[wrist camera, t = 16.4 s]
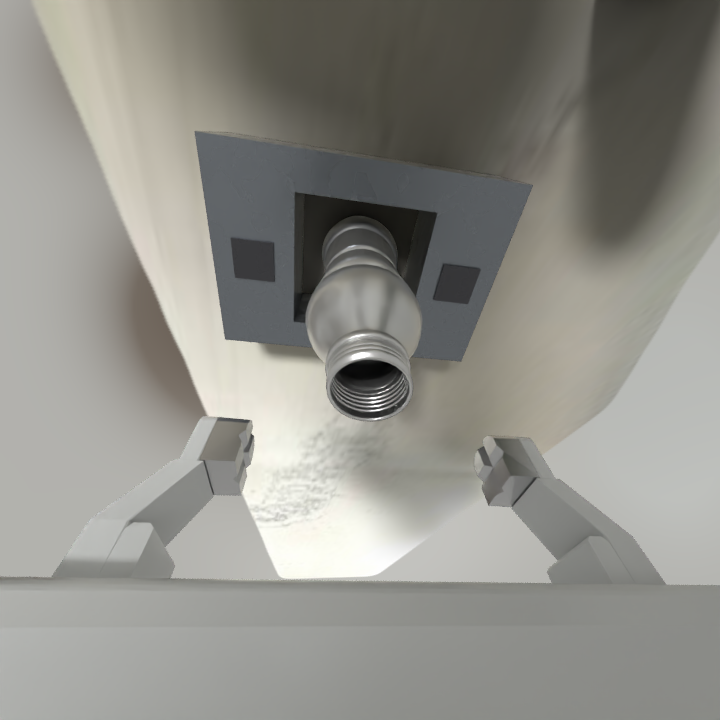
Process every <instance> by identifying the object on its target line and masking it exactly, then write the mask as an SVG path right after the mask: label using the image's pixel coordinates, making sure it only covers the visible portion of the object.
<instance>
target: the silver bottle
mask: <svg viewBox="0 0 720 720" xmlns="http://www.w3.org/2000/svg"><path fill="white" fill-rule="evenodd" d="M322 257H323V264H324V269H325V274H324V277H323V278H322V280H321V281H320V282H319V284H318V286H317V287H316V288H315V290H314V292H313V294H312V296H311V298H310V301H309V303H308V306H307V310H306V322H305V323H306V328H307V333H308V337H309V340H310V342H311V345H312V347H313V349H314V351H315V352H316V354H317V355H318V357H319V358H320V359H321V360H322V361H323V362H324V363H325V364H326V366H325V371H326V376H327V382H326V389H327V395H328V398H329V400H330V402H331V404H332V405H333V406H334V408H336V409H337V410H338V411H339V412H340V413H342V414H343V415H345V416H347V417H350V418H352V419H356V420H360V421H379V420H384V419H387V418H390V417H392V416H394V415H396V414H398V413H399V412H401V411H402V410H403V409H404V408H405V407H406V406H407V405H408V403H409V402H410V400H411V397H412V394H413V381H412V377H411V373H410V370H411V366H410V361H409V359H410V358H411V356H412V355H413V354H414V352H415V350H416V348H417V346H418V343H419V340H420V336H421V330H422V314H421V309H420V306H419V303H418V301H417V299H416V297H415V295H414V294H413V292H412V290H411V289H410V287H409V286H408V285H407V283H406V282H405V281H404V280H403V279H402V278H401V276H400V275H399V274H398V272H397V269H396V268H397V247H396V243H395V241H394V238H393V236H392V235H391V233H390V232H389V231H388V229H387V228H386V227H385V226H384V225H382V224H381V223H379V222H378V221H376V220H374V219H372V218H369V217H365V216H352V217H348V218H345V219H343V220H341V221H340V222H338V223H337V224H336V225H334V226H333V227H332V228H331V230H330V231H329V232H328V234H327V236H326V238H325V240H324V244H323V249H322Z"/></svg>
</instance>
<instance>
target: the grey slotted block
mask: <svg viewBox="0 0 720 720" xmlns="http://www.w3.org/2000/svg"><path fill="white" fill-rule="evenodd" d="M195 137H196V144H197V151H198V157H199V164H200V171H201V178H202V185H203V191H204V198H205V205H206V212H207V219H208V226H209V232H210V239H211V246H212V253H213V260H214V266H215V273H216V280H217V287H218V294H219V300H220V307H221V314H222V321H223V328H224V335H225V339H226V340H237V341H247V342H258V343H269V344H280V345H290V346H301V347H312V345H311V342H310V340H309V337H308V333H307V328H306V323H305V322H306V310H307V306H308V303H309V301H310V298H311V296H312V294H306V293H302V274H303V234H304V194H312V195H319V196H326V197H333V198H340V199H347V200H354V201H360V202H367V203H374V204H381V205H388V206H395V207H402V208H409V209H416V210H419V211H418V216H417V220H416V225H415V229H414V233H413V238H412V242H411V247H410V251H409V255H408V260H407V264H406V269H405V273H404V278H403V280H404V281H405V282H406V283H407V285H408V286H409V287H410V289H411V290H412V292H413V294H414V295H415V297H416V299H417V301H418V303H419V306H420V309H421V314H422V330H421V336H420V340H419V343H418V346H417V348H416V350H415V352H414V354H413V355H412V356H411V357H419V358H430V359H441V360H451V361H461V360H462V358H463V355H464V353H465V351H466V348H467V346H468V343H469V341H470V338H471V336H472V333H473V331H474V329H475V326H476V324H477V321H478V319H479V316H480V314H481V311H482V309H483V307H484V304H485V302H486V299H487V297H488V294H489V292H490V289H491V287H492V285H493V282H494V280H495V277H496V275H497V272H498V270H499V267H500V265H501V262H502V260H503V258H504V255H505V253H506V250H507V248H508V245H509V243H510V240H511V238H512V236H513V233H514V231H515V228H516V226H517V223H518V221H519V218H520V216H521V214H522V211H523V209H524V206H525V204H526V201H527V199H528V196H529V194H530V192H531V189H532V187H533V185H530V184H526V183H523V182H519V181H515V180H511V179H508V178H504V177H500V176H495V175H489V174H482V173H476V172H470V171H464V170H458V169H452V168H445V167H439V166H433V165H427V164H421V163H414V162H408V161H402V160H396V159H390V158H383V157H377V156H371V155H365V154H359V153H352V152H346V151H340V150H334V149H328V148H321V147H315V146H309V145H303V144H297V143H290V142H284V141H278V140H272V139H266V138H259V137H253V136H247V135H241V134H235V133H228V132H207V131H195ZM312 348H313V347H312Z"/></svg>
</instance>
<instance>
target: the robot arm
mask: <svg viewBox="0 0 720 720" xmlns="http://www.w3.org/2000/svg"><path fill="white" fill-rule="evenodd" d="M252 429H253V424H252V420H244V419H233V418H222V417H208V416H203V417H202V418H201V419H200V420H199V421H198V424H197V425H196V427H195V429H194V431H193V433H192V435H191V437H190V439H189V441H188V443H187V445H186V447H185V448H184V450H183V453H182V454H181V456H180V458H179V459H174V460H172V461H171V462H169V463H168V464H166V465H165V466H164V467H162V468H161V469H159V470H158V471H157V472H155V473H154V474H152V475H151V476H150V477H148V478H147V479H145V480H144V481H143V482H141V483H140V484H138V485H137V486H136V487H134V488H133V489H131V490H130V491H129V492H127V493H126V494H125V495H123V496H122V497H120V498H119V499H118V500H116V501H115V502H113V503H112V504H111V505H109V506H108V507H107V508H105V509H104V510H102V511H101V512H99V513H98V514H97V515H95V516H94V517H92V518H91V519H90V520H89V522H88V523H87V524H86V526H85V527H84V529H83V530H82V532H81V533H80V535H79V536H78V538H77V539H76V541H75V542H74V544H73V545H72V547H71V548H70V550H69V551H68V553H67V554H66V556H65V557H64V559H63V560H62V562H61V563H60V565H59V567H58V568H57V569H56V571H55V572H54V574H53V575H52V577H7V576H5V577H4V576H0V720H720V585H666V584H665V582H664V581H663V579H662V578H661V576H660V575H659V573H658V572H657V571H656V569H655V568H654V566H653V565H652V563H651V562H650V561H649V559H648V558H647V556H646V555H645V553H644V552H643V551H642V549H641V548H640V546H639V545H638V543H637V542H636V541H635V539H634V538H633V536H631V535H630V534H629V533H628V532H626V531H625V530H624V529H622V528H621V527H620V526H619V525H617V524H616V523H615V522H613V521H612V520H611V519H610V518H608V517H607V516H606V515H605V514H603V513H602V512H601V511H600V510H598V509H597V508H596V507H594V506H593V505H592V504H591V503H589V502H588V501H587V500H586V499H584V498H583V497H582V496H581V495H579V494H578V493H577V492H576V491H574V490H573V489H572V488H570V487H569V486H568V485H567V484H565V483H564V482H563V481H561V480H560V479H556V478H555V477H554V475H553V474H552V472H551V470H550V469H549V467H548V465H547V464H546V462H545V460H544V459H543V457H542V455H541V454H540V452H539V450H538V449H537V447H536V445H535V444H534V442H533V441H532V440H531V439H530V438H523V437H511V436H492V435H488V436H486V437H485V438H484V440H483V441H482V442H483V445H484V446H483V447H481V448H480V449H478V450H477V452H476V454H475V456H474V467H475V471H476V474H477V476H478V477H479V478H480V479H481V480H482V481H483V485H482V490H483V492H484V495H485V498H486V500H487V503H488V505H489V506H502V507H512V510H513V511H514V512H515V513H516V514H517V515H518V516H519V517H520V519H521V520H522V521H523V522H524V523H525V524H526V525H527V527H528V528H529V529H530V530H531V531H532V532H533V533H534V534H535V536H537V538H538V539H539V540H540V541H541V542H542V543H543V545H544V546H545V547H546V548H547V549H548V550H549V551H550V552H551V554H552V555H553V556H554V557H555V558H556V559H557V560H558V561H557V562H556V563H554V564H553V565H552V566H550V567H549V569H548V571H547V573H548V575H549V578H550V580H551V582H552V583H490V582H489V583H488V582H412V581H411V582H410V581H409V582H408V581H334V580H333V581H332V580H324V581H323V580H253V579H252V580H251V579H250V580H249V579H248V580H247V579H246V580H245V579H172V578H171V575H172V573H173V570H174V568H175V565H174V562H173V561H172V559H171V557H170V555H169V554H168V552H167V550H166V548H165V547H166V546H167V544H169V542H170V541H171V540H172V539H173V538H174V537H175V536H176V535H177V534H178V533H179V532H180V531H181V530H182V529H183V528H184V527H185V526H186V525H187V524H188V523H189V521H191V520H192V518H193V517H194V516H195V515H196V514H197V513H198V512H199V511H200V510H201V509H202V508H203V507H204V506H205V505H206V504H207V503H208V502H209V501H210V500H211V499H212V498H213V495H242V491H243V488H244V485H245V481H246V478H247V473H246V468H247V467H248V466H249V465H250V464H251V461H252V457H253V451H254V436H253V435H252V434H251V432H252Z"/></svg>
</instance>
